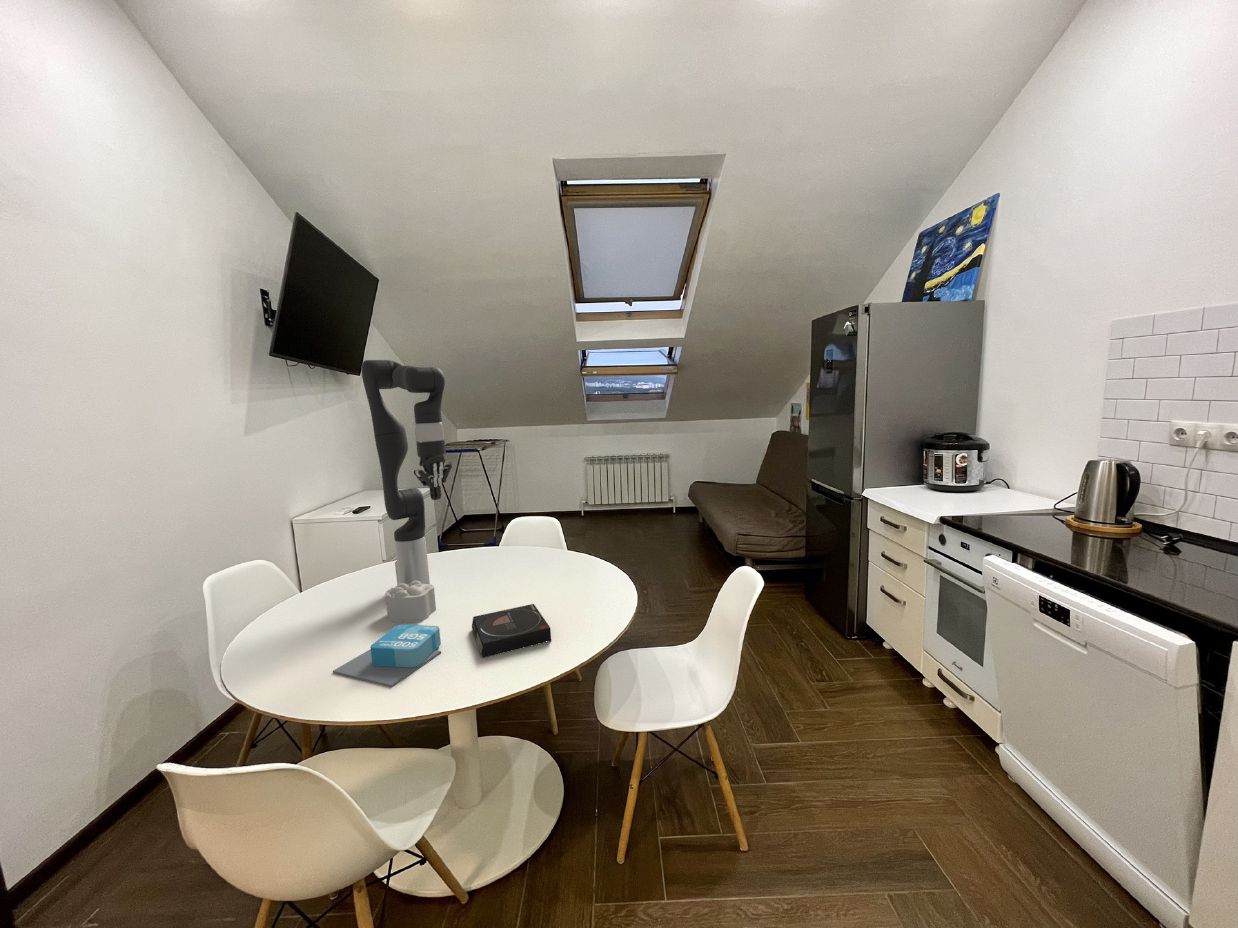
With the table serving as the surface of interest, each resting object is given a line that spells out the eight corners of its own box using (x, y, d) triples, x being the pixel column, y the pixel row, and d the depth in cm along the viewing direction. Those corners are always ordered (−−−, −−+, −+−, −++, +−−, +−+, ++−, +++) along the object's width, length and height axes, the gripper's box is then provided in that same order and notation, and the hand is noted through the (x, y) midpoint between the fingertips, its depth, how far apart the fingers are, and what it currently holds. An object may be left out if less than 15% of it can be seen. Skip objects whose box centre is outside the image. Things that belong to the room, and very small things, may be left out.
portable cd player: (472, 631, 131) (470, 617, 131) (534, 617, 138) (533, 603, 138) (481, 660, 117) (480, 644, 116) (551, 642, 123) (550, 627, 123)
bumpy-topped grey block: (422, 622, 137) (419, 593, 136) (378, 622, 139) (375, 592, 138) (440, 606, 147) (437, 579, 146) (399, 606, 149) (396, 578, 148)
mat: (333, 672, 113) (332, 670, 113) (386, 641, 127) (386, 640, 126) (391, 687, 106) (391, 685, 106) (441, 653, 120) (441, 651, 120)
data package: (441, 625, 123) (414, 649, 112) (443, 642, 124) (416, 668, 112) (398, 623, 125) (367, 647, 114) (400, 640, 126) (369, 665, 114)
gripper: (436, 437, 146) (442, 494, 148) (401, 441, 134) (408, 503, 136) (457, 436, 143) (462, 495, 146) (423, 441, 131) (429, 505, 133)
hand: (436, 499), depth 141 cm, fingers closed
